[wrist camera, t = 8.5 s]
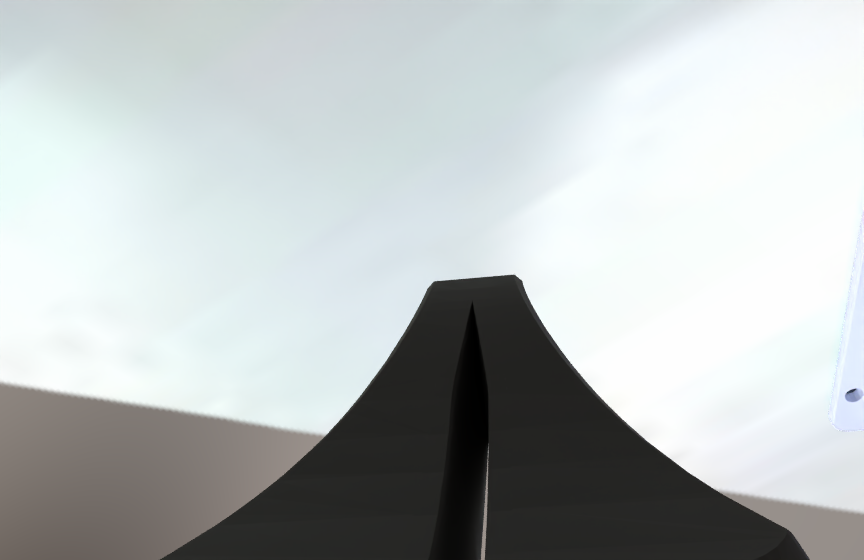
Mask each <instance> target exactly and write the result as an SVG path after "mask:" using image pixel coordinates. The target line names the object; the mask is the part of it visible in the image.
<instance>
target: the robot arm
mask: <svg viewBox="0 0 864 560" xmlns="http://www.w3.org/2000/svg"><path fill="white" fill-rule="evenodd" d="M855 388H856V390H855V391H854V392H852V393H848V394H846V393H847V392H848V391H849V390H851V389H855ZM828 416H829V420H830V422H831V423H832V425H833V426H834V428H835V429H837V430H839V431H862V430H864V208H863V214H862V220H861V225H860V231H859V237H858V243H857V249H856V255H855V261H854V266H853V272H852V278H851V284H850V290H849V296H848V302H847V307H846V313H845V319H844V325H843V331H842V337H841V343H840V348H839V354H838V360H837V366H836V372H835V378H834V384H833V389H832V395H831V401H830V407H829V413H828ZM488 443H489V448H488ZM487 459H488V461H489V462H488V504H487V528H486V548H485V549H486V550H485V560H810V559H809V558H808V556H807V555H806V553H805V552H804V550H803V549H802V547H801V546H800V544H799V543H798V541H797V540H796V539H795V537H794V535H793V534H792V533H791V532H790V531H789V530H787V529H786V528H784V527H782V526H780V525H778V524H776V523H774V522H772V521H771V520H769V519H767V518H765V517H763V516H761V515H759V514H758V513H755V512H754V511H752V510H750V509H748V508H746V507H744V506H742V505H741V504H739V503H737V502H735V501H733V500H732V499H730V498H728V497H726V496H724V495H723V494H721V493H719V492H718V491H716V490H714V489H713V488H711V487H710V486H708V485H707V484H705V483H704V482H702V481H701V480H699V479H697V478H696V477H694V476H693V475H691V474H690V473H688V472H687V471H686V470H684V469H683V468H682V467H680V466H679V465H678V464H676V463H675V462H674V461H672V460H671V459H670V458H668V457H667V456H666V455H664V454H663V453H662V452H660V451H659V450H658V449H656V448H655V447H654V446H652V445H651V444H650V443H649V442H647V441H646V440H645V439H644V438H643V437H642V436H640V435H639V434H638V433H637V432H636V431H635V430H634V429H633V428H631V427H630V426H629V425H628V424H627V423H626V422H625V421H624V420H622V419H621V418H620V417H619V416H618V415H617V414H616V413H615V412H614V411H613V410H612V409H611V408H610V407H609V406H608V405H607V404H606V403H605V402H604V401H603V400H602V399H601V398H600V397H599V396H598V394H597V393H596V392H595V391H594V390H593V389H592V388H591V387H590V386H589V385H588V383H587V382H586V381H585V380H584V379H583V377H582V376H581V375H580V374H579V373H578V372H577V370H576V369H575V368H574V367H573V366H572V364H571V363H570V362H569V360H568V359H567V358H566V356H565V355H564V354H563V353H562V351H561V350H560V348H559V347H558V345H557V344H556V343H555V341H554V340H553V338H552V337H551V335H550V334H549V333H548V331H547V330H546V328H545V327H544V325H543V323H542V322H541V320H540V318H539V317H538V315H537V313H536V312H535V310H534V308H533V306H532V304H531V302H530V300H529V298H528V296H527V294H526V292H525V289H524V286H523V283H522V280H520V279H519V278H518V277H517V276H515V275H505V276H493V277H481V278H469V279H458V280H446V281H434V282H433V283H432V284H431V286H430V287H429V288H428V289H427V291H426V294H425V296H424V298H423V300H422V302H421V304H420V306H419V308H418V310H417V311H416V313H415V315H414V317H413V319H412V320H411V322H410V324H409V326H408V327H407V329H406V331H405V333H404V334H403V336H402V337H401V339H400V340H399V342H398V344H397V345H396V347H395V348H394V350H393V351H392V353H391V355H390V356H389V358H388V359H387V361H386V362H385V364H384V365H383V366H382V368H381V369H380V370H379V372H378V373H377V375H376V376H375V377H374V379H373V380H372V381H371V383H370V384H369V385H368V387H367V388H366V389H365V391H364V392H363V393H362V395H361V396H360V397H359V398H358V400H357V401H356V402H355V403H354V405H353V406H352V407H351V408H350V409H349V411H348V412H347V413H346V414H345V415H344V416H343V417H342V419H341V420H340V421H339V422H338V423H337V424H336V425H335V426H334V427H333V428H332V430H331V431H330V432H329V433H328V434H327V435H326V436H325V437H324V438H323V439H322V440H321V441H320V442H319V443H318V444H317V445H316V446H315V447H314V448H313V449H312V450H311V451H310V452H308V453H307V454H306V455H305V456H304V457H303V458H302V459H301V460H300V461H298V462H297V464H295V465H294V466H293V467H292V468H291V469H290V470H289V471H287V472H286V473H285V474H284V475H283V476H282V477H281V478H279V479H278V480H277V481H276V482H274V483H273V484H272V485H271V486H269V487H268V488H267V489H266V490H264V491H263V492H262V493H260V494H259V495H258V496H256V497H255V498H254V499H252V500H251V501H250V502H248V503H247V504H246V505H244V506H243V507H241V508H240V509H239V510H237V511H236V512H234V513H233V514H232V515H230V516H229V517H227V518H226V519H224V520H223V521H221V522H220V523H219V524H217V525H216V526H214V527H212V528H211V529H209V530H208V531H206V532H204V533H203V534H201V535H200V536H198V537H196V538H195V539H193V540H191V541H190V542H188V543H187V544H185V545H183V546H182V547H180V548H178V549H177V550H175V551H174V552H172V553H171V554H169V555H167V556H166V557H164V558H162V559H160V560H481V547H482V532H483V518H484V503H485V489H486V473H487Z"/></svg>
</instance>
